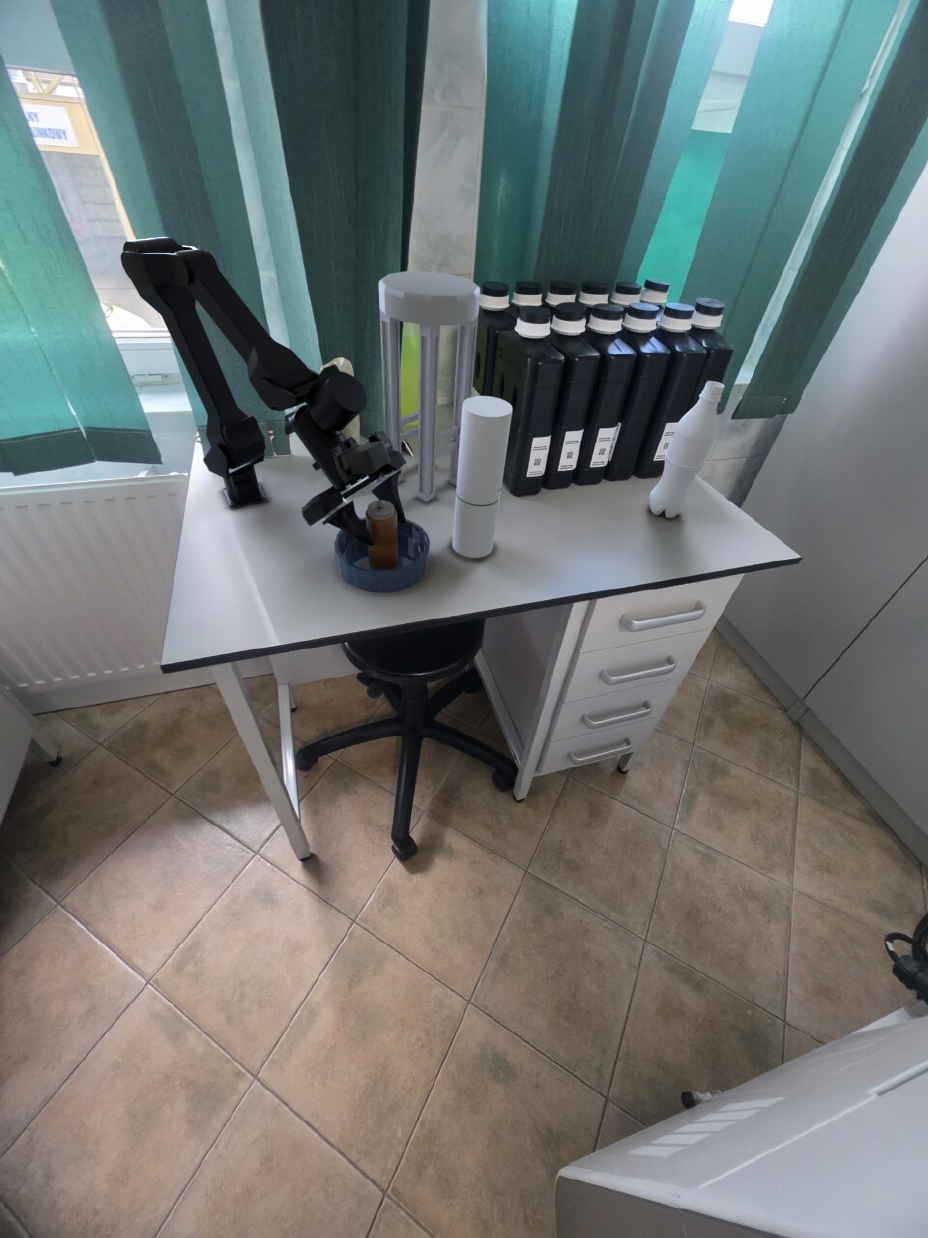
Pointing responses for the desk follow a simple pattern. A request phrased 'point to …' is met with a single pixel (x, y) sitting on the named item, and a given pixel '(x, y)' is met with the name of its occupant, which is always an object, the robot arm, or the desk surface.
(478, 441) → the cylindrical container
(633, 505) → the desk surface
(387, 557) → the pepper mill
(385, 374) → the stool
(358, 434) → the food model
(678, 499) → the water bottle
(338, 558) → the bowl
